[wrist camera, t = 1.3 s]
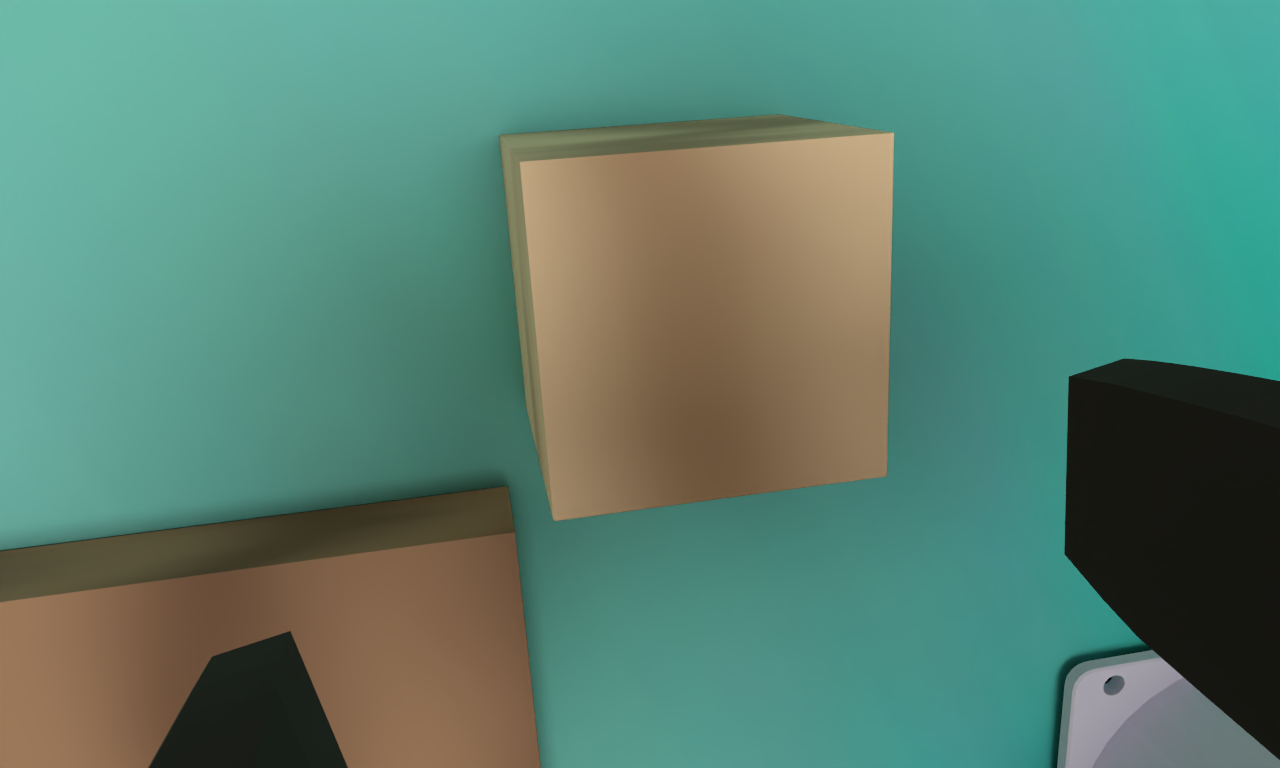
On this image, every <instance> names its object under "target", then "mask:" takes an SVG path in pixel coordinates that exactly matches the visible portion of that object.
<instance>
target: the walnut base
mask: <svg viewBox="0 0 1280 768" xmlns="http://www.w3.org/2000/svg"><path fill="white" fill-rule="evenodd" d="M288 631H291V633H292V636H293V638H294V641H295V643H296V645H297V648H298V650H299V652H300V655H301V657H302V660H303V662H304V664H305V667H306V669H307V672H308V674H309V676H310V679H311V681H312V683H313V686H314V688H315V691H316V693H317V695H318V698H319V700H320V702H321V705H322V707H323V710H324V712H325V714H326V717H327V719H328V721H329V724H330V726H331V729H332V731H333V733H334V736H335V738H336V740H337V743H338V745H339V748H340V750H341V752H342V755H343V757H344V759H345V762H346V764H347V767H348V768H541V767H540V757H539V748H538V739H537V730H536V721H535V711H534V702H533V693H532V684H531V674H530V665H529V656H528V647H527V637H526V628H525V619H524V610H523V601H522V591H521V582H520V573H519V564H518V554H517V545H516V536H515V528H514V522H513V515H512V509H511V502H510V496H509V489H508V486H505V487H497V488H490V489H482V490H474V491H466V492H458V493H451V494H443V495H435V496H427V497H420V498H412V499H404V500H396V501H388V502H381V503H373V504H365V505H357V506H349V507H342V508H334V509H326V510H318V511H310V512H303V513H295V514H287V515H279V516H271V517H264V518H256V519H248V520H240V521H233V522H225V523H217V524H209V525H201V526H194V527H186V528H178V529H170V530H162V531H155V532H147V533H139V534H131V535H123V536H116V537H108V538H100V539H92V540H84V541H77V542H69V543H61V544H53V545H46V546H38V547H30V548H22V549H14V550H7V551H0V768H148V767H149V765H150V763H151V762H152V760H153V758H154V756H155V755H156V753H157V751H158V749H159V748H160V746H161V744H162V742H163V740H164V739H165V737H166V735H167V733H168V731H169V730H170V728H171V726H172V724H173V723H174V721H175V719H176V717H177V715H178V714H179V712H180V710H181V708H182V707H183V705H184V703H185V701H186V699H187V698H188V696H189V694H190V692H191V691H192V689H193V687H194V686H195V684H196V682H197V681H198V679H199V677H200V676H201V674H202V672H203V671H204V669H205V667H206V666H207V664H208V662H209V661H210V659H211V657H212V656H215V655H218V654H221V653H224V652H227V651H230V650H233V649H236V648H239V647H243V646H246V645H249V644H252V643H255V642H258V641H261V640H264V639H267V638H270V637H273V636H276V635H279V634H282V633H285V632H288Z"/></svg>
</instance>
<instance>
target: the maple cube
mask: <svg viewBox="0 0 1280 768" xmlns="http://www.w3.org/2000/svg"><path fill="white" fill-rule="evenodd" d="M499 138H500V148H501V158H502V168H503V178H504V188H505V198H506V208H507V218H508V228H509V238H510V248H511V258H512V268H513V278H514V288H515V298H516V308H517V318H518V328H519V338H520V348H521V358H522V368H523V378H524V388H525V398H526V408H527V412H528V416H529V421H530V425H531V429H532V433H533V437H534V441H535V446H536V450H537V454H538V458H539V462H540V466H541V471H542V475H543V479H544V483H545V487H546V491H547V496H548V500H549V504H550V508H551V512H552V516H553V521H559V520H566V519H573V518H581V517H588V516H596V515H603V514H611V513H618V512H626V511H633V510H640V509H648V508H655V507H663V506H670V505H678V504H685V503H692V502H700V501H707V500H715V499H722V498H730V497H737V496H744V495H752V494H759V493H767V492H774V491H782V490H789V489H796V488H804V487H811V486H819V485H826V484H834V483H841V482H849V481H856V480H863V479H871V478H878V477H886V476H887V441H888V395H889V348H890V301H891V254H892V208H893V161H894V133H893V132H886V131H880V130H874V129H868V128H861V127H855V126H849V125H842V124H836V123H830V122H824V121H817V120H811V119H805V118H799V117H792V116H786V115H780V114H777V115H763V116H749V117H736V118H722V119H709V120H695V121H681V122H668V123H654V124H641V125H627V126H613V127H600V128H586V129H573V130H559V131H545V132H532V133H518V134H505V135H499Z"/></svg>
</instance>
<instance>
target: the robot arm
mask: <svg viewBox="0 0 1280 768" xmlns="http://www.w3.org/2000/svg"><path fill="white" fill-rule="evenodd" d="M1065 555H1066V556H1067V557H1068V559H1069V560H1070V561H1071V562H1072V563H1073V565H1074V566H1075V567H1076V568H1077V569H1078V570H1079V572H1080V573H1081V574H1082V575H1083V576H1084V577H1085V579H1086V580H1087V581H1088V582H1089V583H1090V585H1091V586H1092V587H1093V588H1094V589H1095V590H1096V592H1097V593H1098V594H1099V595H1100V596H1101V597H1102V599H1103V600H1104V601H1105V602H1106V603H1107V604H1108V605H1109V606H1110V607H1111V608H1112V610H1113V611H1114V612H1115V613H1116V614H1117V615H1118V616H1119V617H1120V618H1121V619H1122V620H1123V621H1124V622H1125V624H1126V625H1127V626H1128V627H1129V628H1130V629H1131V630H1132V631H1133V632H1134V633H1135V634H1136V635H1137V636H1138V637H1139V638H1140V639H1141V640H1142V641H1143V642H1144V643H1145V644H1146V645H1148V646H1149V647H1150V648H1151V649H1152V650H1149V651H1144V652H1138V653H1132V654H1126V655H1120V656H1114V657H1109V658H1103V659H1097V660H1091V661H1086V662H1083V663H1080V664H1078V665H1077V666H1075V667H1074V668H1073V669H1071V671H1070V672H1069V674H1068V675H1067V677H1066V681H1065V685H1064V696H1063V708H1062V719H1061V730H1060V741H1059V752H1058V763H1057V768H1280V381H1275V380H1270V379H1264V378H1259V377H1253V376H1248V375H1242V374H1236V373H1231V372H1225V371H1219V370H1213V369H1206V368H1200V367H1194V366H1187V365H1180V364H1174V363H1165V362H1157V361H1148V360H1136V359H1121V360H1118V361H1115V362H1112V363H1109V364H1106V365H1103V366H1100V367H1097V368H1094V369H1091V370H1088V371H1085V372H1082V373H1079V374H1075V375H1072V376H1069V392H1068V433H1067V474H1066V516H1065ZM1112 676H1113V677H1112ZM1110 677H1112V679H1111V680H1110V681H1109V682H1108V683H1107V684H1105V682H1106V681H1107V680H1108V679H1109V678H1110ZM148 768H348V767H347V764H346V762H345V759H344V757H343V755H342V752H341V750H340V748H339V745H338V743H337V740H336V738H335V736H334V733H333V731H332V729H331V726H330V724H329V721H328V719H327V717H326V714H325V712H324V710H323V707H322V705H321V702H320V700H319V698H318V695H317V693H316V691H315V688H314V686H313V683H312V681H311V679H310V676H309V674H308V672H307V669H306V667H305V664H304V662H303V660H302V657H301V655H300V652H299V650H298V648H297V645H296V643H295V641H294V638H293V636H292V633H291V631H288V632H285V633H282V634H279V635H276V636H273V637H270V638H267V639H264V640H261V641H258V642H255V643H252V644H249V645H246V646H243V647H239V648H236V649H233V650H230V651H227V652H224V653H221V654H218V655H215V656H212V657H211V659H210V661H209V662H208V664H207V666H206V667H205V669H204V671H203V672H202V674H201V676H200V677H199V679H198V681H197V682H196V684H195V686H194V687H193V689H192V691H191V692H190V694H189V696H188V698H187V699H186V701H185V703H184V705H183V707H182V708H181V710H180V712H179V714H178V715H177V717H176V719H175V721H174V723H173V724H172V726H171V728H170V730H169V731H168V733H167V735H166V737H165V739H164V740H163V742H162V744H161V746H160V748H159V749H158V751H157V753H156V755H155V756H154V758H153V760H152V762H151V763H150V765H149V767H148Z"/></svg>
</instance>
